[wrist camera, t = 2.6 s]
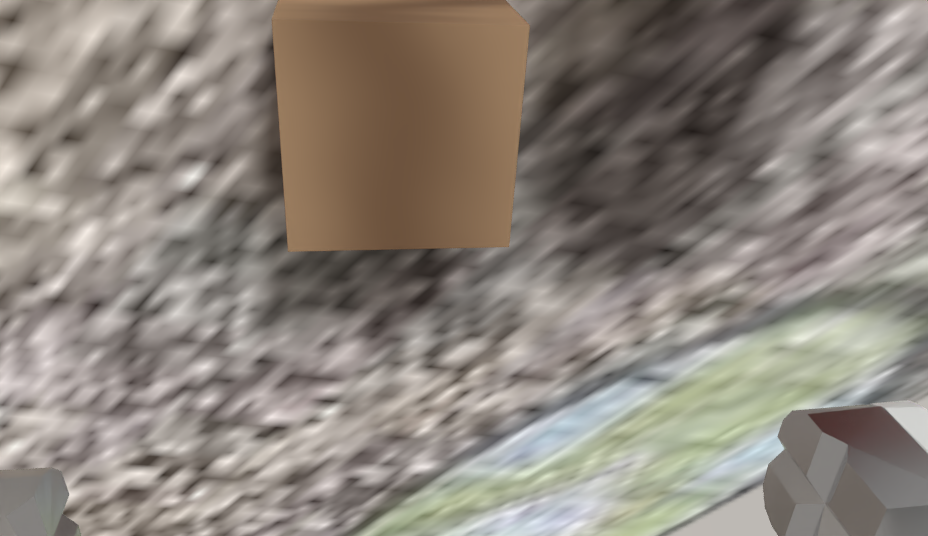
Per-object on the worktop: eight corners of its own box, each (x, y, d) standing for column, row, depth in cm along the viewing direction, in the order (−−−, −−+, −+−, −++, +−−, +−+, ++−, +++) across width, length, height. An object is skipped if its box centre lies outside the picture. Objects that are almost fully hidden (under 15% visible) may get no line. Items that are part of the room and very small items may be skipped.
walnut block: (493, -12, 20) (529, 25, 17) (480, 177, 23) (509, 247, 19) (284, -19, 20) (271, 19, 16) (296, 178, 22) (288, 251, 18)
